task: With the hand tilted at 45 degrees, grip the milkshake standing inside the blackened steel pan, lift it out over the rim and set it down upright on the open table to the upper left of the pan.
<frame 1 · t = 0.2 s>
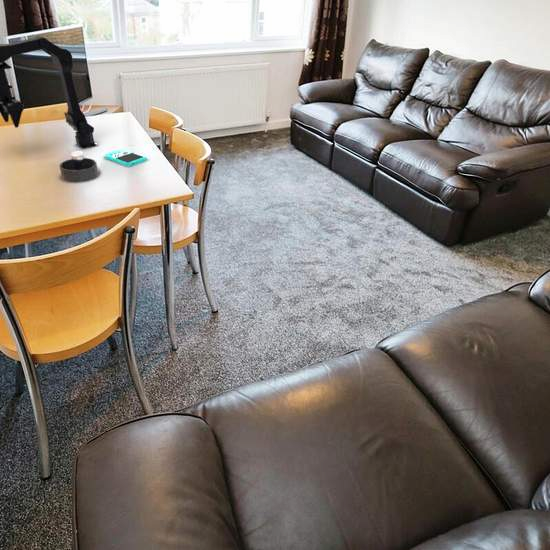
hand: (11, 124, 184), 15 cm above the table, tool pointing down, fingers open, 9 cm apart
milkshake: (80, 175, 182), resting in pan
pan: (80, 175, 182), on the table
handheld game console: (125, 159, 199), on the table
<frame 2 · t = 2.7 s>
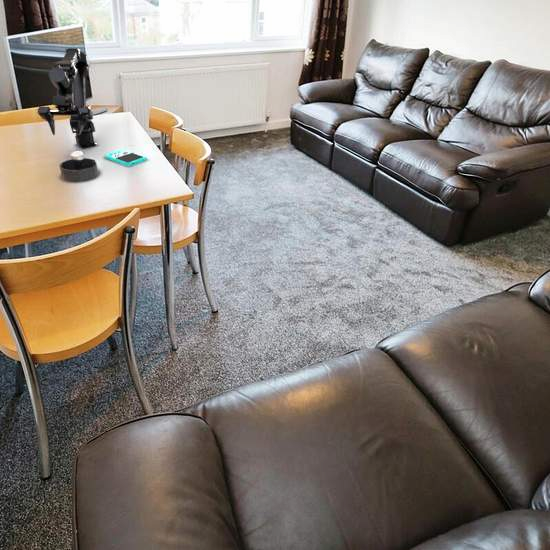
hand: (66, 134, 180), 13 cm above the table, tool tilted 40°, fingers open, 9 cm apart
nothing on the table moved.
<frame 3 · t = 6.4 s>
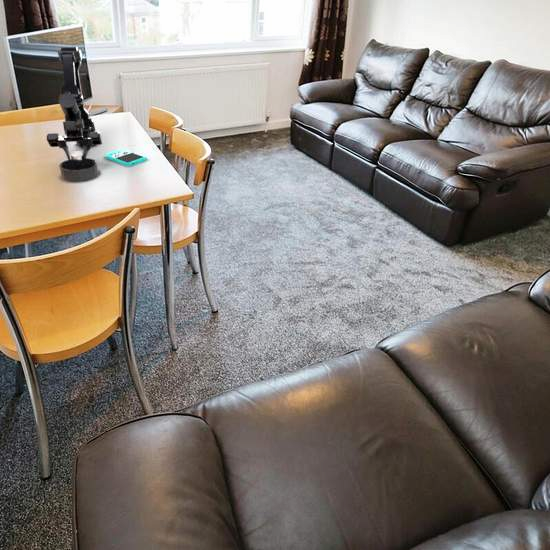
hand: (76, 160, 178), 7 cm above the table, tool tilted 45°, fingers closed on milkshake, 5 cm apart
milkshake: (80, 175, 182), resting in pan, touching gripper
everything else where it was.
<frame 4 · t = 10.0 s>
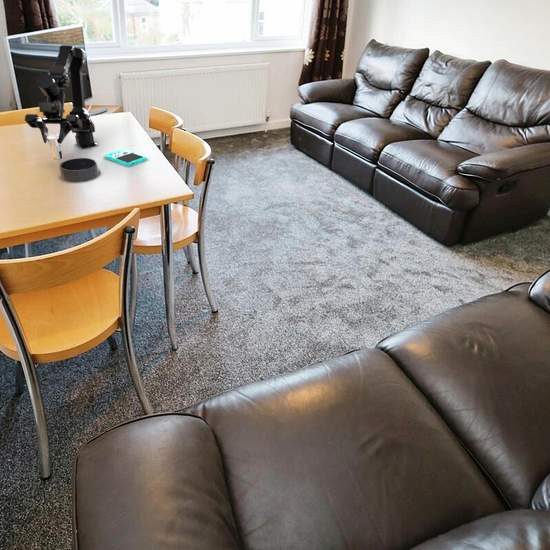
hand: (52, 143, 173), 13 cm above the table, tool tilted 45°, fingers closed on milkshake, 5 cm apart
milkshake: (57, 158, 178), point 7 cm above the table, touching gripper
everything else where it was.
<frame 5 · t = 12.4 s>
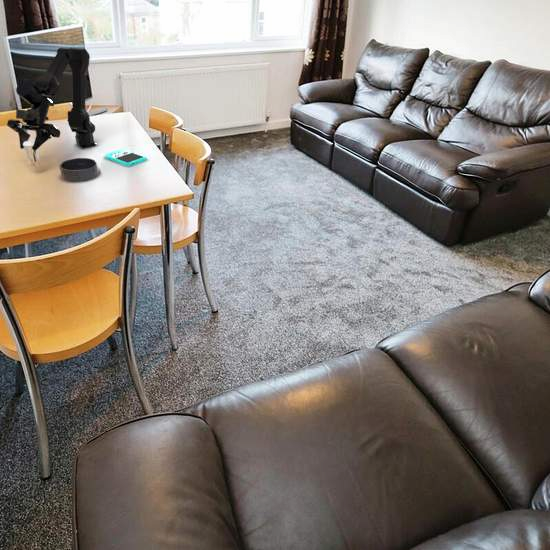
hand: (27, 149, 175), 10 cm above the table, tool tilted 45°, fingers closed on milkshake, 5 cm apart
milkshake: (34, 164, 180), point 4 cm above the table, touching gripper
everything else where it was.
when the fingers open (6 cm above the table, at t = 13.9 s): milkshake stays where it is, on the table.
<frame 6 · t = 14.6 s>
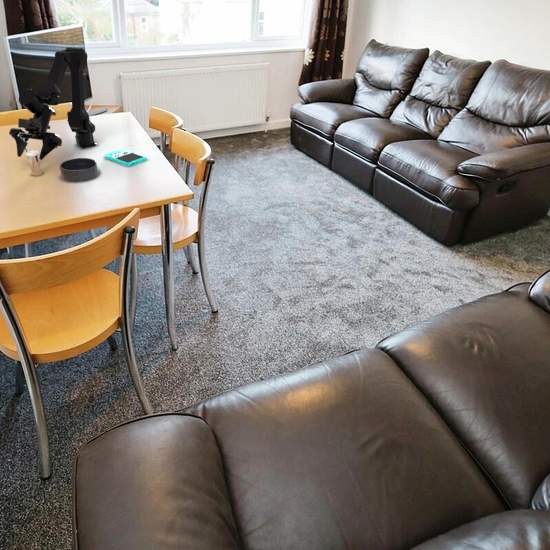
hand: (29, 157, 177), 7 cm above the table, tool tilted 45°, fingers open, 9 cm apart
milkshake: (36, 174, 182), on the table
everything else where it was.
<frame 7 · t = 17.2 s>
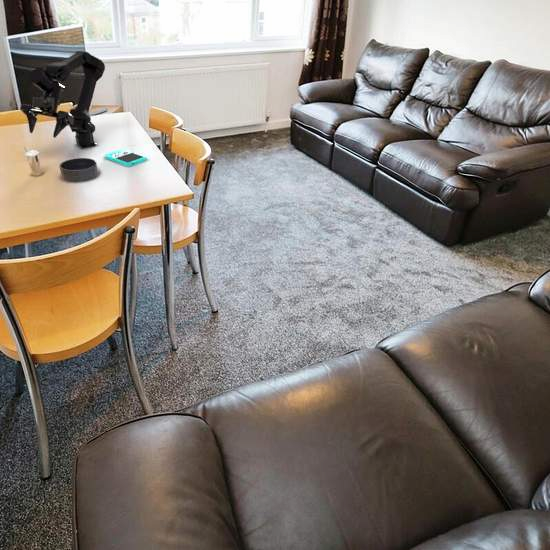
hand: (42, 135, 183), 12 cm above the table, tool tilted 40°, fingers open, 9 cm apart
nothing on the table moved.
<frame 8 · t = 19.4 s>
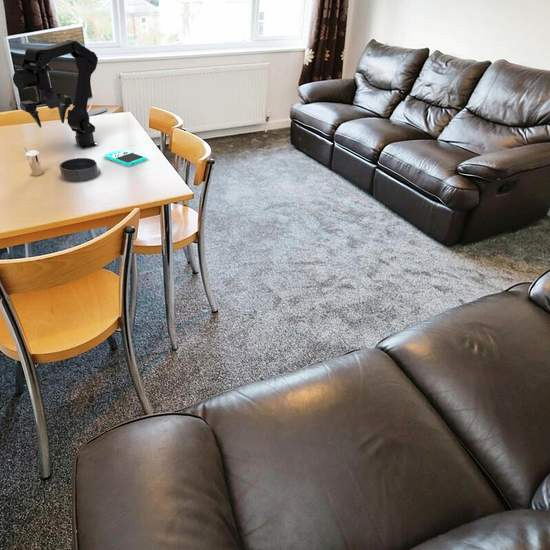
hand: (51, 125, 191), 13 cm above the table, tool pointing down, fingers open, 9 cm apart
nothing on the table moved.
at the end: milkshake inside the target area (0.1 cm from its centre), on the table; milkshake tilted 0°; the gripper is holding nothing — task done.
